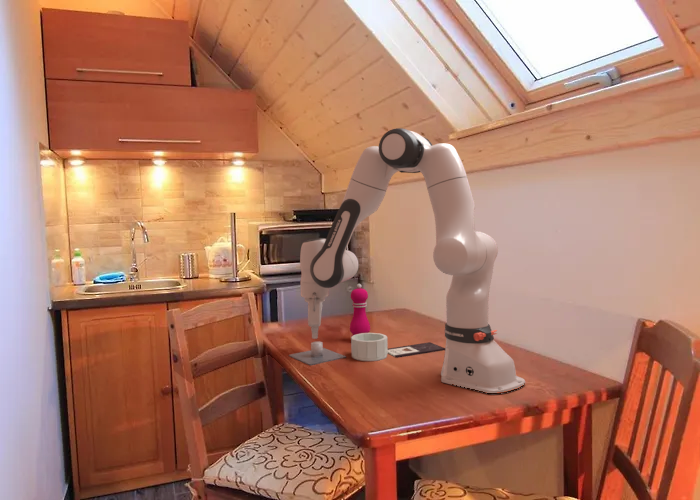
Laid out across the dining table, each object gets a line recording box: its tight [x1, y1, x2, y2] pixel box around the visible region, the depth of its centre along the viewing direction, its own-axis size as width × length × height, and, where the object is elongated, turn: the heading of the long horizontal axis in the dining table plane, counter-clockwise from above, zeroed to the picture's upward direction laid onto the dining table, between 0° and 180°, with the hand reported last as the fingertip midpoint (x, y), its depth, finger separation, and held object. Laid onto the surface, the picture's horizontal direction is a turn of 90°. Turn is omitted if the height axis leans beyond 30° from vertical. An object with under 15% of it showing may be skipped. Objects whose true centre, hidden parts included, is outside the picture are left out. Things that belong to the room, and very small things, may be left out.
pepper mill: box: [349, 283, 371, 338], centre depth 182 cm, size 7×7×20 cm
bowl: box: [350, 332, 389, 362], centre depth 163 cm, size 11×11×6 cm
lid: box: [288, 341, 347, 366], centre depth 164 cm, size 13×13×5 cm
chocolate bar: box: [387, 341, 446, 359], centre depth 169 cm, size 9×1×18 cm
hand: (315, 334), depth 164 cm, fingers open, 8 cm apart
